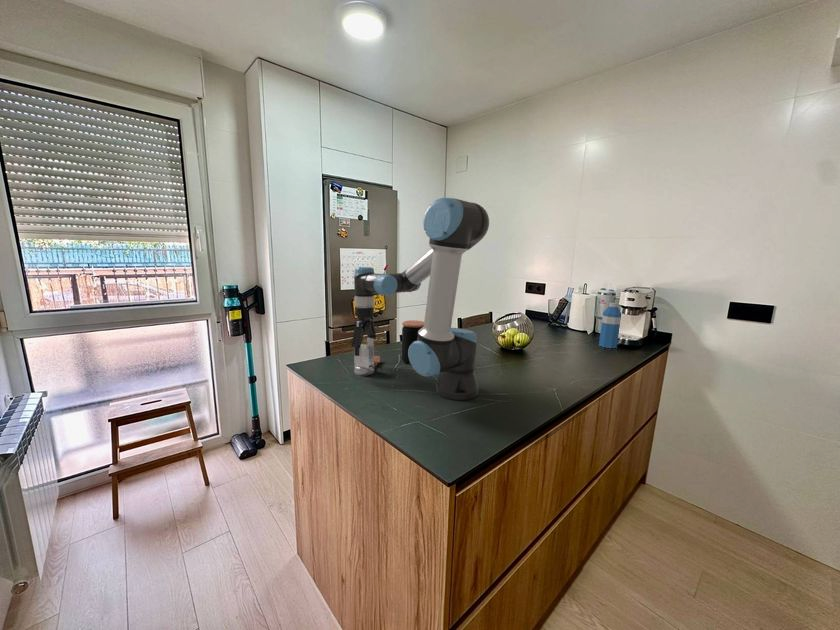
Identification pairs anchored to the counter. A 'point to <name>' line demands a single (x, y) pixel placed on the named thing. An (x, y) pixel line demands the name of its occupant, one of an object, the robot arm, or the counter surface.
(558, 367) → the counter surface
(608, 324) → the water bottle
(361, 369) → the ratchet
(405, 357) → the coffee jar
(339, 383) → the counter surface
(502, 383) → the counter surface
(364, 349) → the silver metal block
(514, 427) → the counter surface
